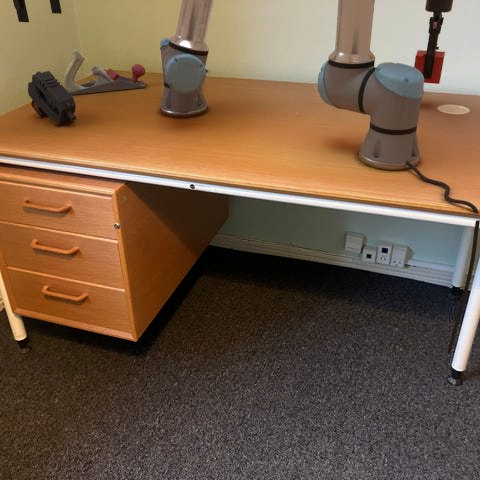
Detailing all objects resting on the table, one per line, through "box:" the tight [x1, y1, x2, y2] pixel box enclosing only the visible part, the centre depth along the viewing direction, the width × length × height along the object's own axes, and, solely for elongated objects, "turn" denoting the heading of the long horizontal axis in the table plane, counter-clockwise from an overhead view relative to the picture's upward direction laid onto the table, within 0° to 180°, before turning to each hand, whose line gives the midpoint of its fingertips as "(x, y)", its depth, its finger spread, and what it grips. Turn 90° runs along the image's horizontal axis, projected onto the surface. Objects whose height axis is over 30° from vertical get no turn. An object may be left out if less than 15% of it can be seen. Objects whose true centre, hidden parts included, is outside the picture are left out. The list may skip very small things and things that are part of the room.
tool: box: [27, 70, 77, 126], centre depth 167 cm, size 6×19×15 cm, turn 51°
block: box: [413, 49, 446, 85], centre depth 168 cm, size 8×8×8 cm
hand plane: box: [62, 48, 146, 96], centre depth 194 cm, size 7×31×15 cm, turn 107°
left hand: (41, 17), depth 142 cm, fingers open, 13 cm apart
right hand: (427, 74), depth 169 cm, fingers closed on block, 8 cm apart
